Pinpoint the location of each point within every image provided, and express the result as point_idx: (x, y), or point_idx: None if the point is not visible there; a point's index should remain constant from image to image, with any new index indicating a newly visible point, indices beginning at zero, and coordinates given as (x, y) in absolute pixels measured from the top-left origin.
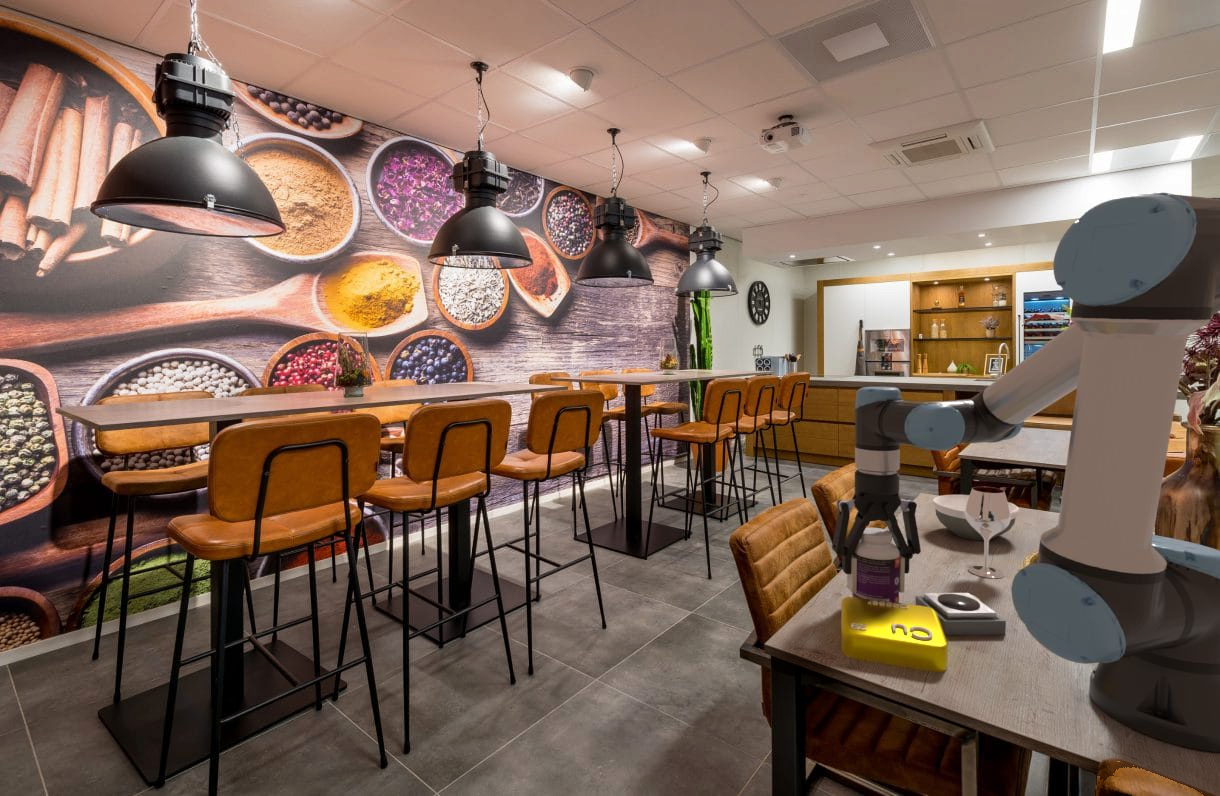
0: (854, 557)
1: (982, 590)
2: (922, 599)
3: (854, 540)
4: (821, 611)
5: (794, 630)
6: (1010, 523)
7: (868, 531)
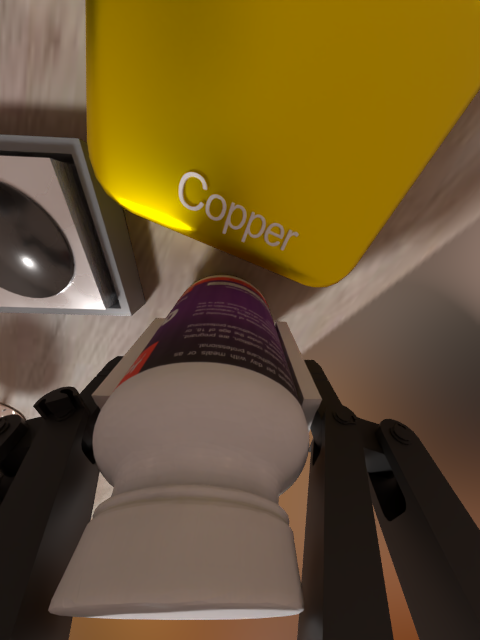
0: (304, 409)
1: (3, 365)
2: (118, 297)
3: (361, 520)
4: (343, 300)
5: (474, 208)
6: None
7: (236, 614)
